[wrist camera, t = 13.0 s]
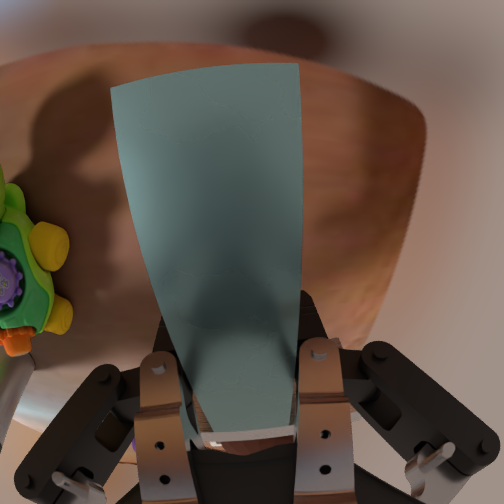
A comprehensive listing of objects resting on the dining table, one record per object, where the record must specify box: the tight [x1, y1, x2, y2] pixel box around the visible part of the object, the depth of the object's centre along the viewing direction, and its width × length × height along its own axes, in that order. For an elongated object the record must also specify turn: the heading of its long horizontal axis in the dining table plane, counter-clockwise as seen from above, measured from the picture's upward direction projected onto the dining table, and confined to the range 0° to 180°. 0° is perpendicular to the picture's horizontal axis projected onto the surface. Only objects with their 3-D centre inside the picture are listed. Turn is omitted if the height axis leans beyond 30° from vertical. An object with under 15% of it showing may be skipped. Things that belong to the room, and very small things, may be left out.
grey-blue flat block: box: [110, 63, 362, 442], centre depth 10 cm, size 14×11×5 cm
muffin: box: [220, 435, 294, 455], centre depth 32 cm, size 12×11×10 cm
